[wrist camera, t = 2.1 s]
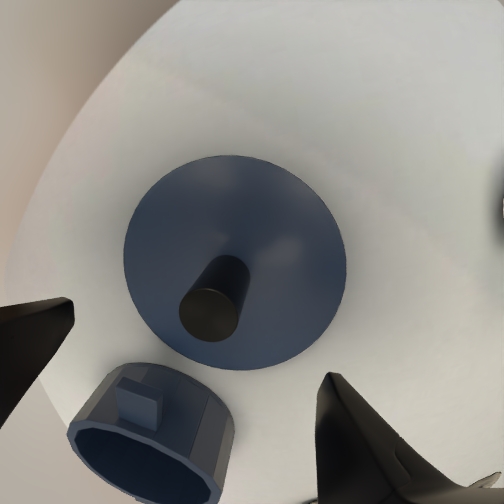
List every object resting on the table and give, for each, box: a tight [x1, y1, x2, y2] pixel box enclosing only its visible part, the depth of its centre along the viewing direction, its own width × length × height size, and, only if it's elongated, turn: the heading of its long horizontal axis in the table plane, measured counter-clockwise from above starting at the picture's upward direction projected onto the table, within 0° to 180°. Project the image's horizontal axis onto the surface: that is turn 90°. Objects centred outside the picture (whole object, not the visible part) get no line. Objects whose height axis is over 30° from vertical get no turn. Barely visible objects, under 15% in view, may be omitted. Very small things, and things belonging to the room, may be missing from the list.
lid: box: [124, 156, 346, 370], centre depth 14 cm, size 12×12×6 cm
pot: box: [67, 363, 235, 504], centre depth 17 cm, size 11×17×6 cm
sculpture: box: [469, 472, 501, 488], centre depth 24 cm, size 12×9×8 cm
